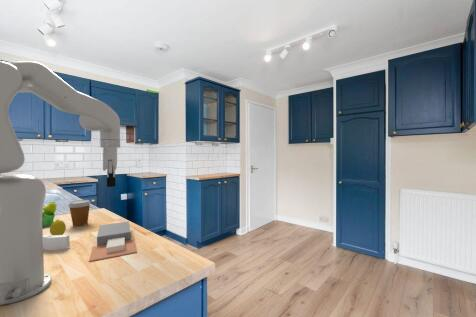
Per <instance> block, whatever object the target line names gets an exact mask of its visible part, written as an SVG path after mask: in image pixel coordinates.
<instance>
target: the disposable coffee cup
mask: <svg viewBox="0 0 476 317" xmlns="http://www.w3.org/2000/svg"><path fill="white" fill-rule="evenodd" d="M67 206H68V207H69V212H70V217H71V222H72V226H73V227H81V226H85V225H88V223H89V216H90V206H91V201H90V200H89V199H78V200H72V201H70V202H69V203H68V205H67Z"/></svg>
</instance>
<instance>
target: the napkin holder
mask: <svg viewBox="0 0 476 317" xmlns="http://www.w3.org/2000/svg"><path fill="white" fill-rule="evenodd" d="M70 241H71V240H70V234H63V235H51V234H43V251H45V250H46V251H57V250H59V251H60V250H68V248H70Z"/></svg>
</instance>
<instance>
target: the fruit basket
mask: <svg viewBox="0 0 476 317" xmlns="http://www.w3.org/2000/svg"><path fill="white" fill-rule="evenodd" d="M56 211H57V203H56V202H55V201H50V202H49V203H48V204H46V205H45V206H43V211H42V228H44V227H49V226H51V224H52V223H53V222H54V221H55V220H54V219H55V216H56V214H55V213H56Z"/></svg>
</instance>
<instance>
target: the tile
mask: <svg viewBox="0 0 476 317" xmlns="http://www.w3.org/2000/svg"><path fill="white" fill-rule="evenodd" d="M122 250H125V237H120V238H113V239H108V242H107V247H106V253H110V252H116V251H122Z"/></svg>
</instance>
